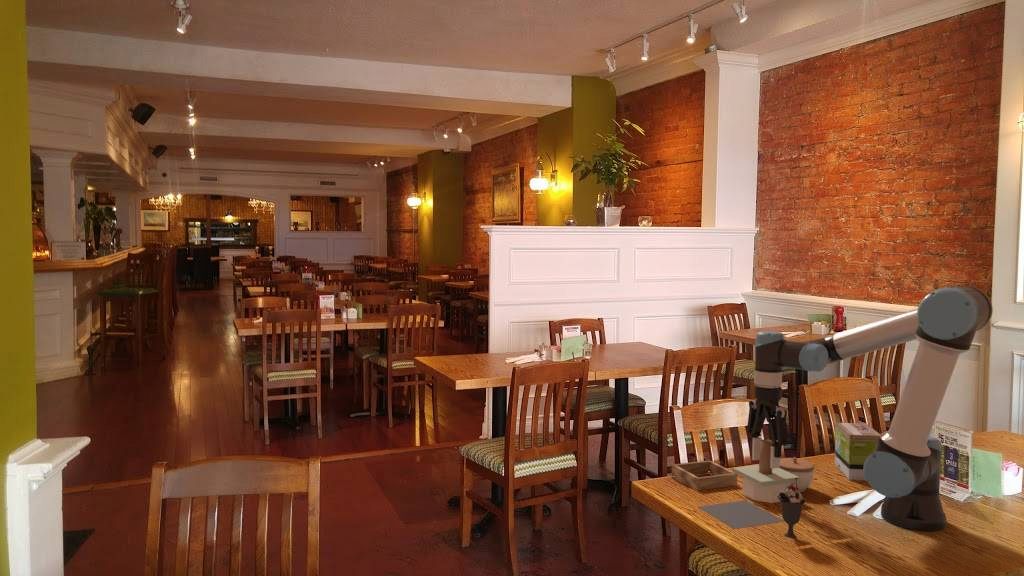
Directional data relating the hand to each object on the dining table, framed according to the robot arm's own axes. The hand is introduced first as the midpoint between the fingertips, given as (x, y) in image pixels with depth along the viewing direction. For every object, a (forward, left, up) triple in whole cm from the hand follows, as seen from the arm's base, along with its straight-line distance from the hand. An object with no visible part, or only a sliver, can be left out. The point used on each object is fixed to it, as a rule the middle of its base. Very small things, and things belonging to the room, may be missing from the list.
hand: (765, 463), depth 207 cm
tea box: (+8, -42, -10) cm, 44 cm away
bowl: (0, 0, -10) cm, 10 cm away
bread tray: (+17, +10, -10) cm, 21 cm away
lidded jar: (+3, -13, -10) cm, 17 cm away
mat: (-10, +16, -10) cm, 21 cm away
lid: (0, 0, -4) cm, 4 cm away
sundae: (-26, +13, -10) cm, 31 cm away
